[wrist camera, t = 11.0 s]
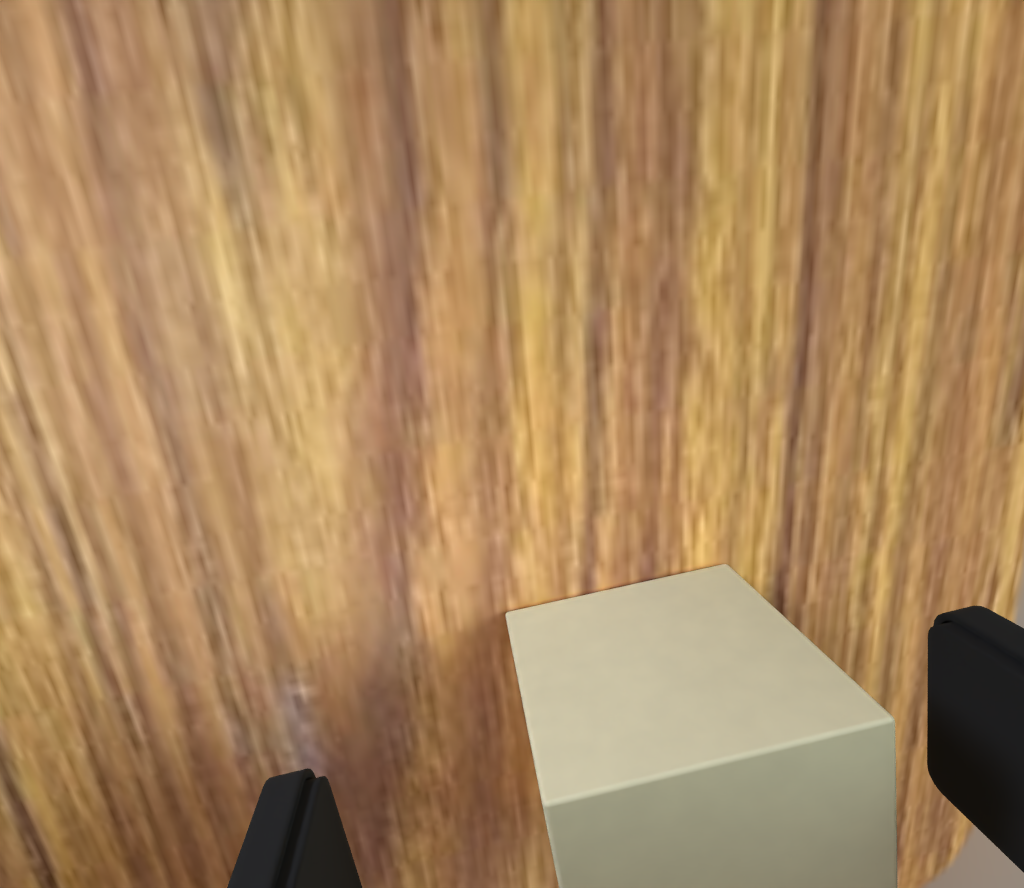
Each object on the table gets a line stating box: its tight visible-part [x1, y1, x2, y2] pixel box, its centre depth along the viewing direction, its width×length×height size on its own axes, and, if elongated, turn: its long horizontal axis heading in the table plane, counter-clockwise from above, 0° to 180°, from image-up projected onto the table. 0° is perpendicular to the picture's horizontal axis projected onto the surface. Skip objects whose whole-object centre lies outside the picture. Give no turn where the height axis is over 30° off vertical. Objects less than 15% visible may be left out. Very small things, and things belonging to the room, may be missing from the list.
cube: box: [506, 564, 897, 888], centre depth 9 cm, size 4×4×4 cm
